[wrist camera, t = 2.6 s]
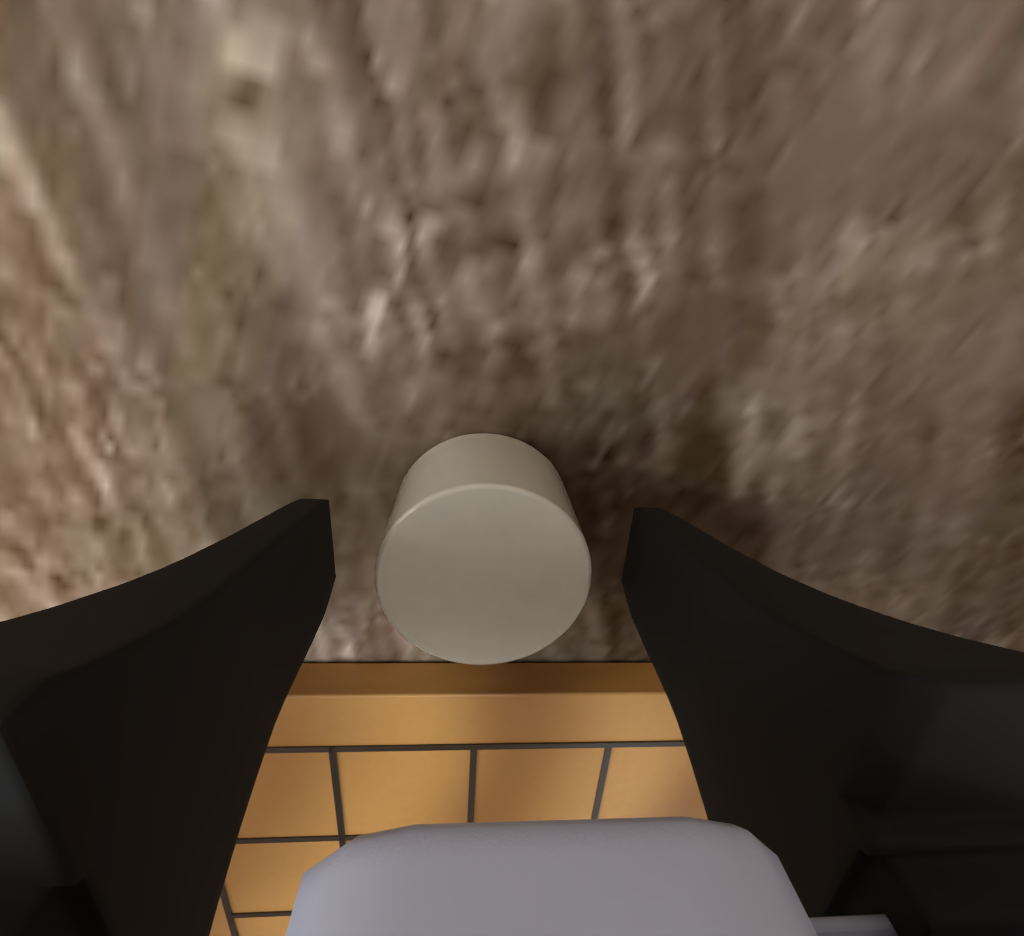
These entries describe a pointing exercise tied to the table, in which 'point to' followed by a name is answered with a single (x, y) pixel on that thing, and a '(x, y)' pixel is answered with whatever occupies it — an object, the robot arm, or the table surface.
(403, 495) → the white stone
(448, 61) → the table surface
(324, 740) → the game board
